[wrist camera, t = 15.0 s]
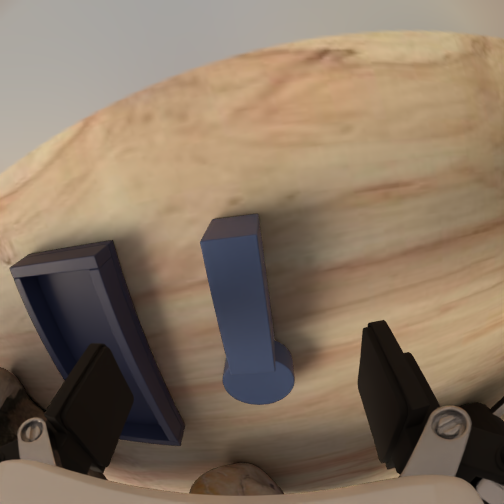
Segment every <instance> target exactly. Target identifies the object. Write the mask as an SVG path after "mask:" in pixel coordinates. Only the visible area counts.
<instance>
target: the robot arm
mask: <svg viewBox="0 0 504 504" xmlns="http://www.w3.org/2000/svg"><path fill="white" fill-rule="evenodd" d="M358 389H359V393H360V396H361V399H362V402H363V406H364V409H365V412H366V415H367V419H368V422H369V425H370V429H371V432H372V436H373V439H374V443H375V446H376V450H377V453H378V457H379V460H380V462H381V463H384V462H385V463H386V467H387V469H391V468H396V471H397V473H399V474H400V476H399V478H392V479H386V480H381V481H375V482H370V483H364V484H359V485H353V486H348V487H342V488H335V489H329V490H321V491H312V492H304V493H293V494H281V495H260V496H223V495H202V494H189V493H179V492H170V491H162V490H155V489H149V488H143V487H137V486H131V485H126V484H121V483H117V482H112V481H108V480H104V479H100V478H96V477H92V476H90V475H89V472H88V471H89V469H91V470H93V471H97V472H101V473H103V472H104V470H105V467H107V466H108V465H109V464H110V461H111V458H112V456H113V453H114V450H115V448H116V445H117V443H118V440H119V437H120V435H121V432H122V430H123V427H124V425H125V422H126V420H127V417H128V415H129V412H130V410H131V407H132V405H133V402H134V397H133V394H132V392H131V390H130V388H129V386H128V384H127V382H126V380H125V378H124V376H123V375H122V373H121V371H120V369H119V366H118V364H117V362H116V360H115V358H114V356H113V354H112V352H111V350H110V348H108V347H107V346H106V345H105V344H103V343H91V344H90V345H89V346H88V347H87V349H86V350H85V352H84V353H83V355H82V356H81V357H80V359H79V360H78V362H77V363H76V365H75V366H74V368H73V369H72V371H71V372H70V374H69V375H68V377H67V378H66V380H65V381H64V383H63V385H62V386H61V388H60V389H59V391H58V392H57V394H56V396H55V397H54V399H53V400H52V402H51V404H50V405H49V407H48V408H47V410H46V412H45V413H44V416H45V417H46V418H47V420H46V422H45V421H44V420H43V419H41V418H35V417H34V418H30V419H28V420H26V421H25V422H24V423H23V424H22V425H21V426H20V427H19V430H18V434H17V438H18V439H17V440H15V441H13V442H10V443H8V444H6V445H3V446H1V447H0V504H484V503H483V502H488V503H489V504H504V436H502V435H499V434H495V433H492V432H489V431H485V430H482V429H479V428H476V427H473V426H471V425H472V422H471V418H470V416H469V415H468V413H467V412H466V411H465V410H463V409H462V408H460V407H457V406H452V405H447V406H442V407H440V405H439V403H438V401H437V399H436V397H435V396H434V394H433V392H432V390H431V388H430V386H429V384H428V382H427V381H426V379H425V377H424V375H423V373H422V371H421V370H420V368H419V366H418V364H417V362H416V361H415V359H414V357H413V356H412V354H411V353H409V352H407V353H403V351H402V350H401V348H400V346H399V344H398V342H397V341H396V339H395V337H394V335H393V333H392V332H391V330H390V328H389V326H388V325H387V323H386V322H385V321H384V320H382V321H376V322H370V323H368V327H366V328H363V334H362V346H361V357H360V366H359V375H358Z"/></svg>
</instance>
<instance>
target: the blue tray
mask: <svg viewBox="0 0 504 504" xmlns="http://www.w3.org/2000/svg"><path fill="white" fill-rule="evenodd" d="M10 271H11V274H12V276H13V278H14V281H15V284H16V286H17V289H18V291H19V293H20V296H21V298H22V300H23V303H24V305H25V307H26V309H27V312H28V314H29V316H30V318H31V320H32V322H33V324H34V326H35V328H36V330H37V332H38V334H39V336H40V338H41V340H42V342H43V344H44V346H45V348H46V349H47V351H48V353H49V355H50V357H51V358H52V360H53V362H54V364H55V365H56V367H57V369H58V370H59V372H60V374H61V375H62V377H63V379H64V380H66V378H67V377H68V375H69V374H70V372H71V371H72V369H73V368H74V366H75V365H76V363H77V362H78V360H79V359H80V357H81V356H82V355H83V353H84V352H85V350H86V349H87V347H88V346H89V345H90V344H91V343H103V344H105V345H106V346H107V347H108V348H110V350H111V352H112V354H113V356H114V358H115V360H116V362H117V364H118V366H119V369H120V371H121V373H122V375H123V376H124V378H125V380H126V382H127V384H128V386H129V388H130V390H131V392H132V394H133V397H134V402H133V405H132V407H131V410H130V412H129V415H128V417H127V420H126V422H125V425H124V427H123V430H122V432H121V435H120V437H119V439H121V440H127V441H134V442H142V443H151V444H160V445H172V446H181V442H182V438H183V433H184V429H185V424H184V422H183V420H182V418H181V416H180V414H179V412H178V410H177V408H176V406H175V404H174V402H173V400H172V398H171V396H170V394H169V391H168V389H167V387H166V385H165V383H164V381H163V378H162V376H161V374H160V371H159V369H158V367H157V365H156V362H155V360H154V357H153V355H152V353H151V350H150V348H149V345H148V343H147V340H146V338H145V335H144V333H143V330H142V327H141V325H140V322H139V319H138V317H137V314H136V311H135V309H134V306H133V303H132V300H131V297H130V294H129V291H128V288H127V285H126V282H125V279H124V276H123V273H122V270H121V267H120V263H119V260H118V257H117V253H116V250H115V246H114V243H113V240H110V241H103V242H97V243H91V244H85V245H79V246H73V247H67V248H62V249H56V250H50V251H45V252H39V253H33V254H29V255H27V256H26V257H24V258H23V259H21V260H20V261H18V262H17V263H16V264H14V265H13V266H11V267H10Z"/></svg>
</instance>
